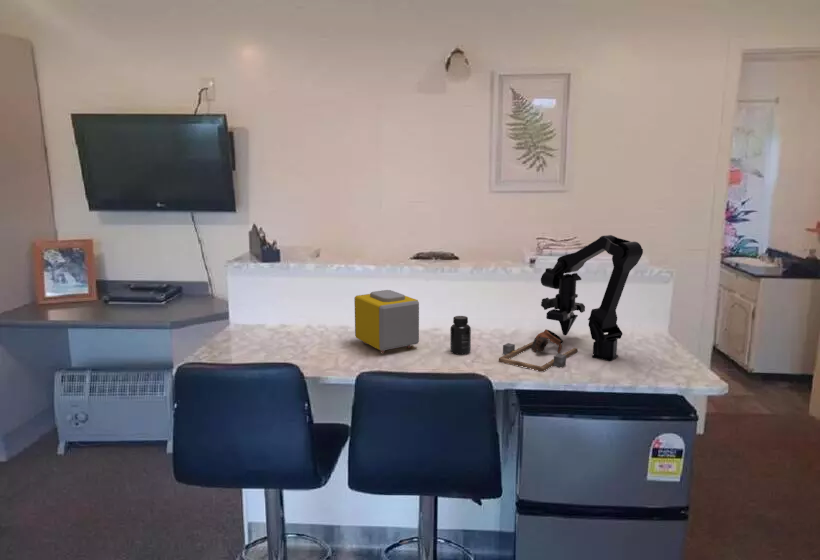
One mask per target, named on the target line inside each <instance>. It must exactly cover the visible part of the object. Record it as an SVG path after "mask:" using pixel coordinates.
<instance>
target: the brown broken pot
mask: <svg viewBox="0 0 820 560" xmlns="http://www.w3.org/2000/svg"><path fill="white" fill-rule="evenodd" d="M532 342H533V344H532V348H530V350H532V352H533V353H536V352H539V353H543V352H544V350H545V348H546V347H547V345H548V344H549V342H552V343H553V344H555V345H557V346H558V350H557V354H561V351H562V349H563V344H564V340H563V339H562V338H561V337H560V336H559V335H558V334H556V333H555V332H553V331H551V330H549V329H544V331H541V332H540V333H537V335H536V336H535V338H534V339H533V341H532Z"/></svg>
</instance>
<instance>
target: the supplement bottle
mask: <svg viewBox="0 0 820 560" xmlns="http://www.w3.org/2000/svg"><path fill="white" fill-rule="evenodd" d="M452 319H453V320H452V325H451V326H450V329H449V330H450V331H449V332H450V333H449V334H450V335H449V336H450V337H449V338H450V343H449V345H450V348H449V349H450V352H451V353H452V354H454V355H462V356H463V355H468V354H470V353H471V351H472V350H471V349H472V347H471V346H472V344H471V343H472V342H471V340H472V338H471V337H472V335H471V334H472V327H471V325H469V324H468V323H469V320H468V316H466V315H455V316H453V318H452Z"/></svg>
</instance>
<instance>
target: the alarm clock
mask: <svg viewBox="0 0 820 560" xmlns="http://www.w3.org/2000/svg"><path fill="white" fill-rule="evenodd" d="M353 301H354V336H355V338H356V339H358V340H359V341H362V342H363V344H364V343H366V344H367V345H369V346H371V347H373V348H375V349H377V350H379V351H380V353H381V352H382V353H381V354H384V353H385V351H386V350H387V351H388V350H391V349H397V348H402V347H407V348H408V349H410V348H411V346H414V345H417V344H419V342H420V302H419V300H418V299H416V298H413V297H410V296H407V295H405V294H403V293H400V292H397V291H394V290H391V289H383V290H382V289H381V290H374V291H372V292H371V291H370V292H369V293H366V294H359V295H358V294H357V295H355V296H354V300H353Z"/></svg>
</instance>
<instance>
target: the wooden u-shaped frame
mask: <svg viewBox="0 0 820 560" xmlns="http://www.w3.org/2000/svg"><path fill="white" fill-rule="evenodd" d="M532 344H533V341H531V342H529V343H527V344H524V345H523V346H520V347H518V348H516V346H515V345H516V344H514V343H509V342H507V343H504V344H503V345H502V356H500V357H498V362H499V363H502V362H504V364H506V363H509V364H508V365H511V364H514V365H513V366H515V365H518V366H517V367H519V366H523V367H527V368H531V369H530V370H532V369H534V370H533V371H536V370H538V371H537V372H540V371H544V370H545V371H547V370H549V369H550V368H549V367H551V366H552V367H555V366H557V367H556V368H560V367H562V368H563V367H566V365H567V358H570V357H571V356H573V355H575V354H576V353H578V348H577V347H573V348H572V349H570V350H568V351H566V352H564V353H562V354H561V353H557V354H555V355H554V356H553V359H551V360H550V361H547V362H546V363H545V364H543V365H537V364H532V363H528V362H524V361H523V362H522V361H519V360H515V359H512V358H514V357H516V356H517V354H518V355H520V354H522V353H524V352H526V351H528V350H529V349H530V350H531V348H532ZM523 351H524V352H523ZM521 352H522V353H521ZM519 353H520V354H519ZM503 354H504V355H503ZM515 355H516V356H515ZM513 356H514V357H513ZM511 357H512V358H511ZM509 358H510V359H509ZM523 367H522V368H523ZM552 367H551V368H552ZM527 368H526V369H527ZM548 368H549V369H548ZM546 369H547V370H546ZM545 371H544V372H545Z"/></svg>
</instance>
